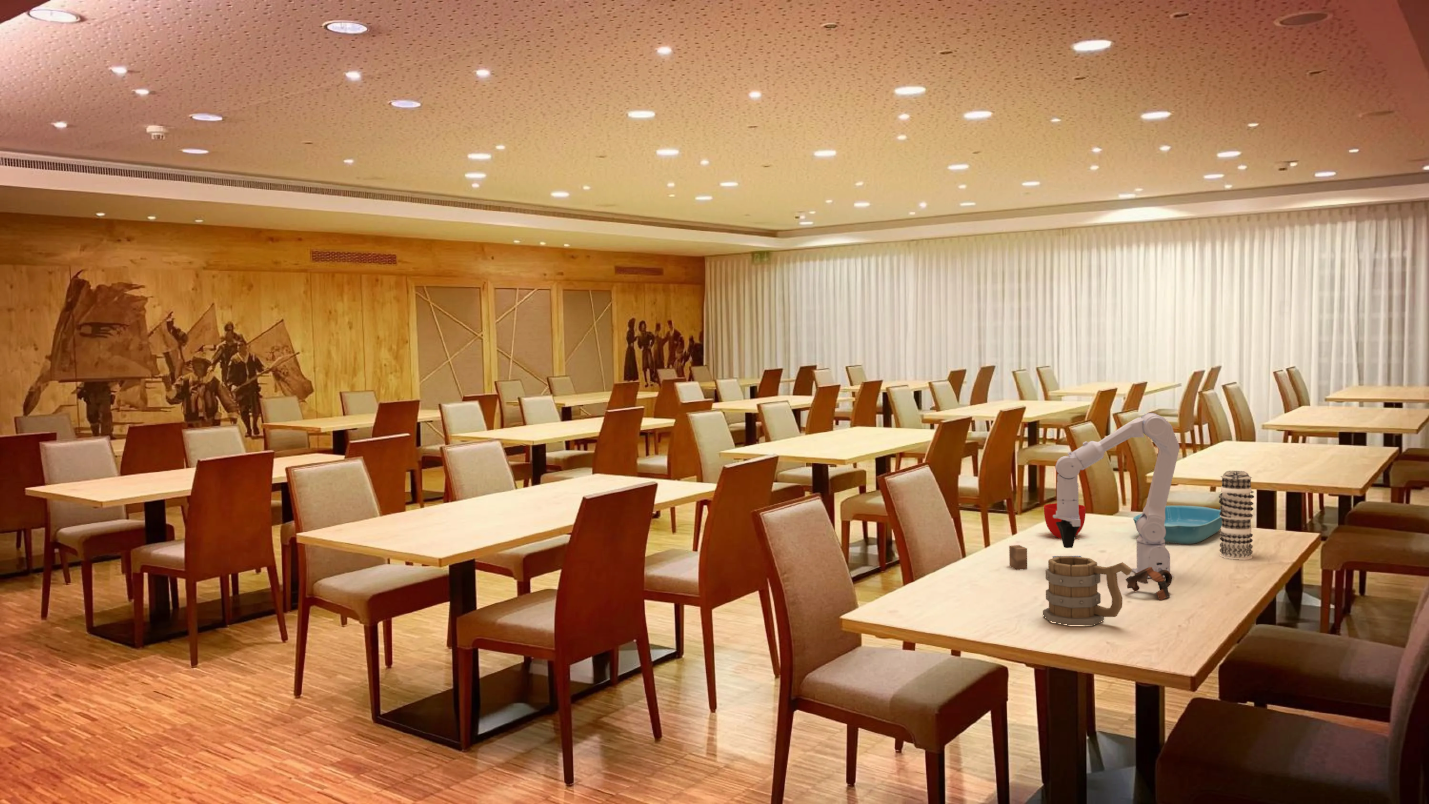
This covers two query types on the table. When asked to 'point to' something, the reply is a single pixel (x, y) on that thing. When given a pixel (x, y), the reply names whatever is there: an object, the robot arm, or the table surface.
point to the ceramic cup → (1051, 522)
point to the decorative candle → (1236, 515)
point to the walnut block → (1018, 557)
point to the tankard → (1080, 590)
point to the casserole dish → (1189, 523)
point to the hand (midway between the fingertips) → (1068, 547)
